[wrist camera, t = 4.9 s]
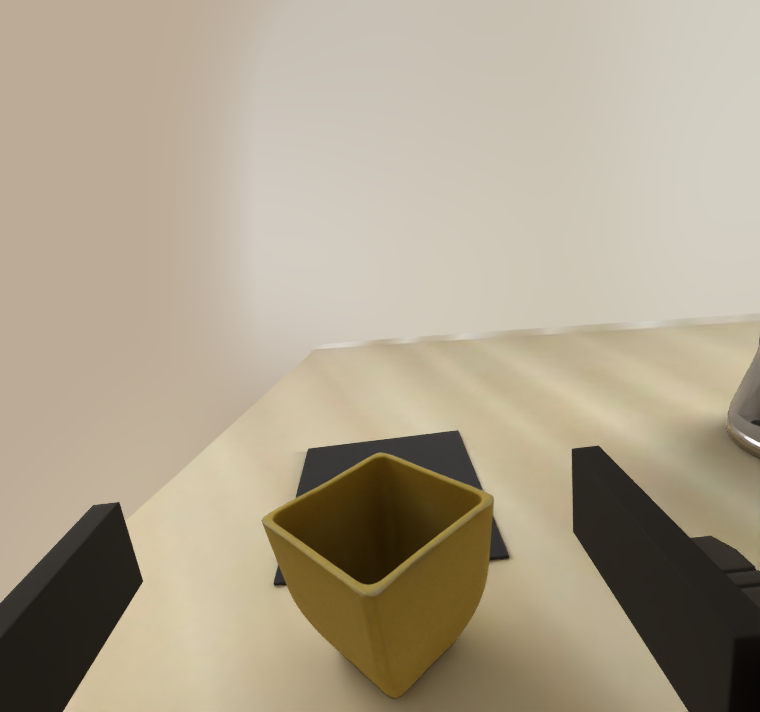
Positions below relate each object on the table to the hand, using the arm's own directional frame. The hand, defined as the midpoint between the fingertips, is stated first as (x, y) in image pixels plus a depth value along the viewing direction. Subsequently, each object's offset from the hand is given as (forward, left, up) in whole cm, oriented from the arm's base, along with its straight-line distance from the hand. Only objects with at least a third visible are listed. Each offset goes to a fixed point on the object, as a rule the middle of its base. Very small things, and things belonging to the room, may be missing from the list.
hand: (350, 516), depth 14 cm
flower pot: (+7, -7, -15) cm, 18 cm away
